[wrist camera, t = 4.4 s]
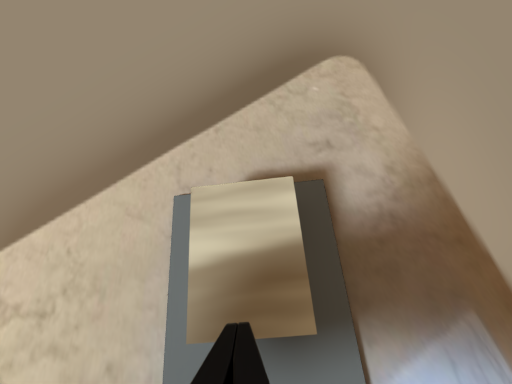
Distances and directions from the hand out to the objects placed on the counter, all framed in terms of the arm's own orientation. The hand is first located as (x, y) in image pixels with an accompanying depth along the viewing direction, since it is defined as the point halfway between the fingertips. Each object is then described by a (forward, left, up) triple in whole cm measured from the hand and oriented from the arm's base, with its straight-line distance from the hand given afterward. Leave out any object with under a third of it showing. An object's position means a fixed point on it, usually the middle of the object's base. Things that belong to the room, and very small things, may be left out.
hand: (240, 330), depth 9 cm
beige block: (-1, 0, -5) cm, 5 cm away
